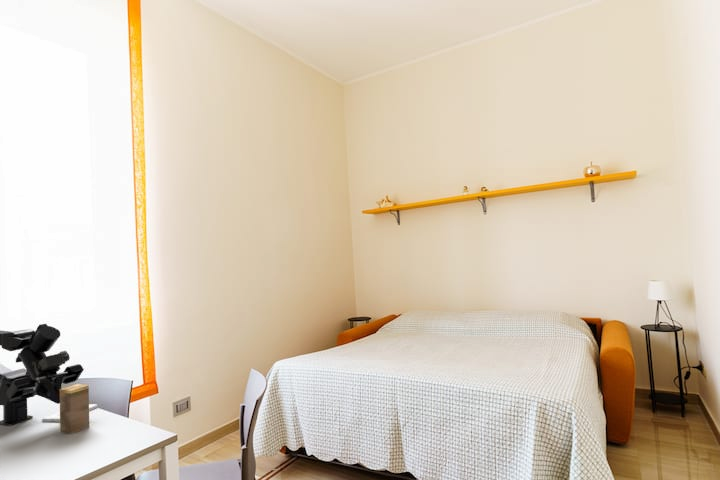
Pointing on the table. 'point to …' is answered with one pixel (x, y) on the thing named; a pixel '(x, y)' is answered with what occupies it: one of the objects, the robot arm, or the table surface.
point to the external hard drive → (56, 416)
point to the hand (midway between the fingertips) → (60, 402)
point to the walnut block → (74, 408)
